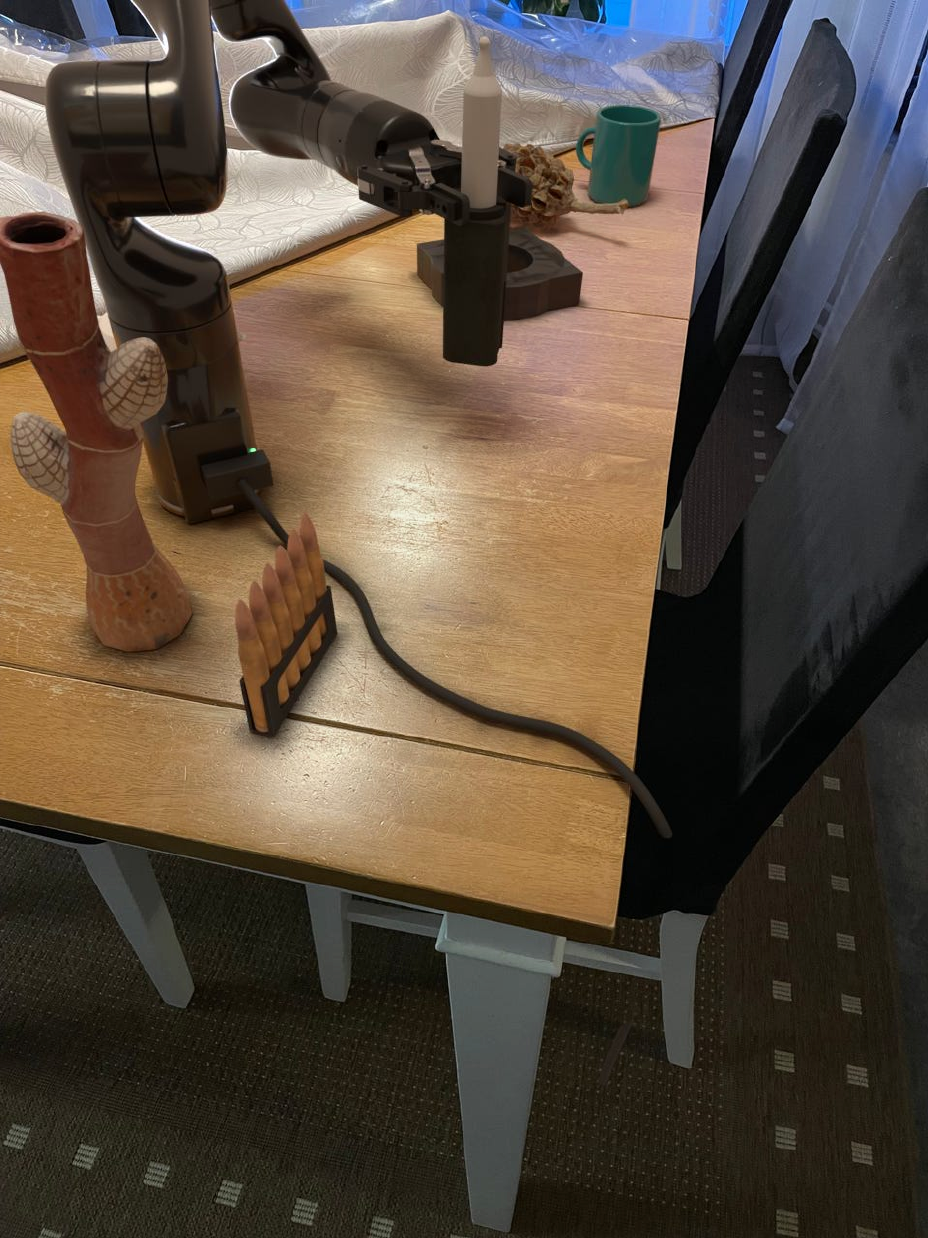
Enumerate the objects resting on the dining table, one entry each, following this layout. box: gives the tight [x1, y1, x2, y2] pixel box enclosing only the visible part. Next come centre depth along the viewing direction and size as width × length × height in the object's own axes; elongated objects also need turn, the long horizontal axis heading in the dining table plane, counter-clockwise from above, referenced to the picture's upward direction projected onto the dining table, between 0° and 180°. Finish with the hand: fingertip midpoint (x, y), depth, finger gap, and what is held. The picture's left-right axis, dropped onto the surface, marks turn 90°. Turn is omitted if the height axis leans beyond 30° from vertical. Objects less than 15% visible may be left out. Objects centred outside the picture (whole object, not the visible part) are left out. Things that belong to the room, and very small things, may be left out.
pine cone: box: [502, 142, 629, 230], centre depth 119 cm, size 22×10×10 cm, turn 65°
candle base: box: [416, 225, 584, 321], centre depth 107 cm, size 16×16×4 cm
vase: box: [0, 211, 193, 653], centre depth 56 cm, size 11×7×30 cm
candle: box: [442, 35, 511, 368], centre depth 73 cm, size 5×5×25 cm
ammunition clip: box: [234, 512, 338, 738], centre depth 59 cm, size 11×2×12 cm, turn 162°
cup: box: [575, 104, 662, 208], centre depth 128 cm, size 9×12×11 cm
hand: (497, 202), depth 71 cm, fingers closed on candle, 6 cm apart
